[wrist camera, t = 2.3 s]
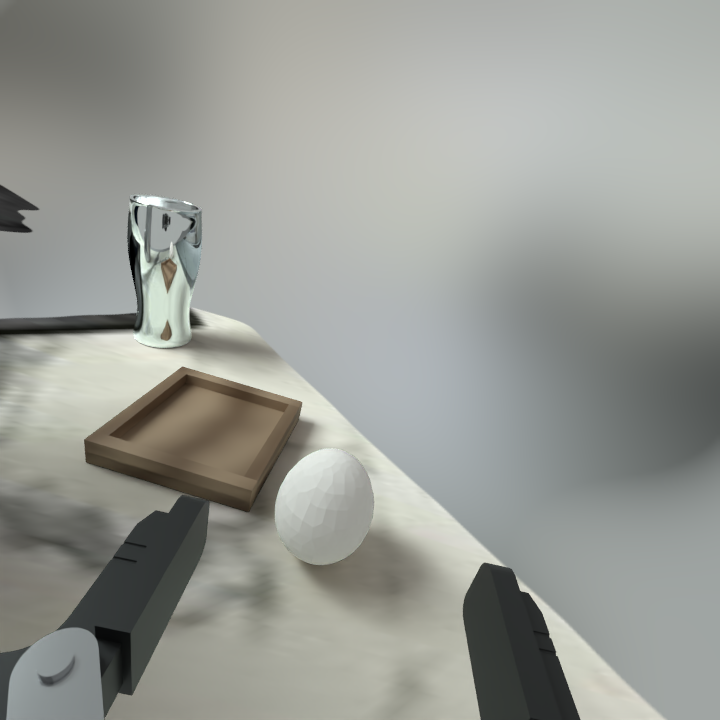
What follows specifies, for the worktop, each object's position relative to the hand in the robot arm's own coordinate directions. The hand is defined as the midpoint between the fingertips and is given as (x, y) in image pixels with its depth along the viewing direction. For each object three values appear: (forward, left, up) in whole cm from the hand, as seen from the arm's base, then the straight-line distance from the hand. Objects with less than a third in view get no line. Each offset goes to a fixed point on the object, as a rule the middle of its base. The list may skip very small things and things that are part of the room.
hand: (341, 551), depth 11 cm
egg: (-1, +10, -13) cm, 17 cm away
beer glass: (-25, +31, -13) cm, 42 cm away
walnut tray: (-12, +17, -13) cm, 25 cm away
